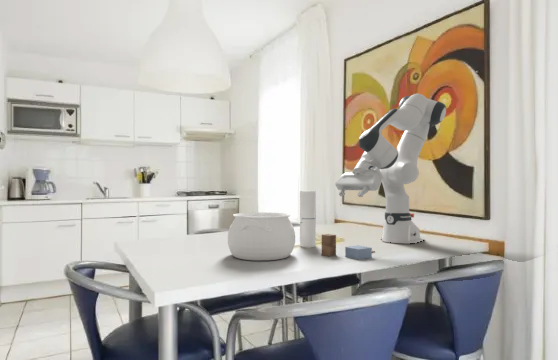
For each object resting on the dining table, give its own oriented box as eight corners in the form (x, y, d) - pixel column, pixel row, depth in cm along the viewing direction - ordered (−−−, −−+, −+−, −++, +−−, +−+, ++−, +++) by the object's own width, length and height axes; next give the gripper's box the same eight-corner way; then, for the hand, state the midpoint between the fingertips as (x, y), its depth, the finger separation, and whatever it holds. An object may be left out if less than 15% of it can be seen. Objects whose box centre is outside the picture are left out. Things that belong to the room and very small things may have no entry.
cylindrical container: (310, 247, 165) (310, 191, 165) (296, 246, 169) (296, 190, 170) (318, 245, 171) (318, 190, 171) (305, 244, 175) (305, 190, 175)
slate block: (358, 255, 149) (358, 245, 149) (371, 258, 144) (371, 247, 144) (345, 257, 145) (345, 246, 145) (358, 260, 140) (358, 249, 140)
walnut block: (328, 253, 151) (328, 233, 152) (335, 255, 148) (335, 234, 149) (321, 254, 149) (321, 234, 149) (329, 256, 146) (329, 235, 146)
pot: (288, 265, 130) (288, 218, 130) (215, 262, 135) (216, 217, 135) (300, 250, 159) (300, 212, 159) (240, 248, 164) (240, 211, 164)
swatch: (361, 249, 160) (361, 248, 160) (375, 252, 155) (375, 251, 155) (353, 251, 157) (353, 250, 157) (367, 253, 152) (367, 252, 152)
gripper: (340, 168, 169) (327, 189, 162) (381, 166, 155) (368, 190, 148) (346, 178, 172) (333, 200, 165) (386, 178, 158) (374, 201, 151)
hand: (350, 195), depth 156 cm, fingers open, 8 cm apart
